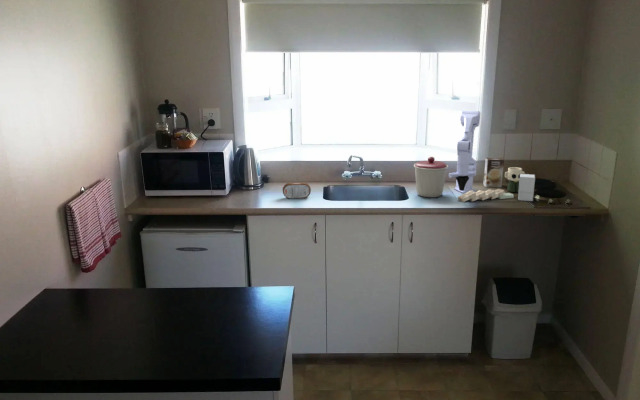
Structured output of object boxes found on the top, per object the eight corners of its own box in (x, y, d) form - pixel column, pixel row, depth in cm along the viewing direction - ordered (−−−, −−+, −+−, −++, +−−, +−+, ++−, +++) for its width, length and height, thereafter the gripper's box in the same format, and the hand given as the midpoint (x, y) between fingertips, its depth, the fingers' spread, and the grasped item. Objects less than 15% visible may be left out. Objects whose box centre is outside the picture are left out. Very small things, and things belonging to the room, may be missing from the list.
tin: (310, 197, 279) (310, 181, 277) (311, 198, 276) (310, 183, 274) (282, 197, 278) (282, 182, 276) (282, 199, 275) (282, 184, 273)
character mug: (505, 193, 281) (508, 170, 277) (500, 190, 288) (502, 167, 284) (525, 193, 282) (527, 169, 278) (520, 189, 288) (522, 166, 285)
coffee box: (485, 187, 294) (487, 159, 290) (483, 184, 300) (485, 157, 296) (501, 187, 293) (504, 159, 289) (499, 184, 299) (501, 157, 295)
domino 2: (467, 196, 270) (480, 189, 271) (468, 199, 271) (481, 193, 272) (471, 198, 266) (484, 191, 267) (472, 201, 267) (485, 195, 268)
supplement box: (532, 197, 272) (535, 174, 269) (532, 201, 265) (535, 177, 262) (517, 196, 275) (520, 173, 271) (517, 200, 268) (519, 176, 265)
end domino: (495, 194, 274) (509, 192, 276) (495, 197, 275) (508, 196, 277) (500, 196, 270) (513, 194, 272) (500, 199, 271) (513, 198, 273)
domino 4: (486, 194, 273) (499, 188, 275) (487, 197, 274) (499, 191, 275) (491, 196, 269) (504, 190, 271) (492, 199, 270) (505, 193, 271)
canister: (423, 201, 268) (424, 161, 263) (406, 192, 285) (407, 155, 279) (453, 197, 274) (455, 158, 268) (435, 189, 290) (437, 152, 285)
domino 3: (477, 195, 271) (490, 188, 272) (478, 198, 272) (491, 192, 273) (481, 197, 267) (494, 191, 268) (482, 200, 268) (495, 194, 269)
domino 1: (457, 196, 269) (471, 190, 270) (458, 200, 269) (472, 193, 270) (462, 199, 265) (475, 192, 266) (463, 202, 265) (476, 195, 266)
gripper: (454, 166, 257) (452, 193, 260) (480, 164, 260) (478, 190, 264) (447, 163, 263) (445, 189, 267) (472, 162, 267) (471, 187, 270)
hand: (461, 190), depth 266 cm, fingers closed
